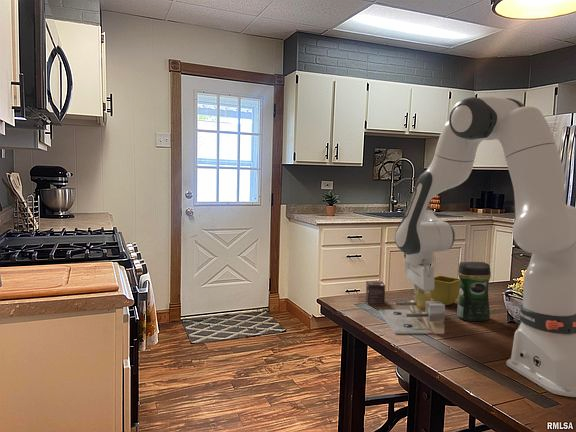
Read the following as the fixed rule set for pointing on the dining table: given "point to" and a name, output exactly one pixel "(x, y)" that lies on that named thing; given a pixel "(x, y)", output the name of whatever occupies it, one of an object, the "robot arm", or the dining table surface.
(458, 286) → the flower pot
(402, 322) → the hole plate
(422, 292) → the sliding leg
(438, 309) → the beam
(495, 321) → the dining table surface
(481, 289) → the coffee jar
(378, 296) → the box
